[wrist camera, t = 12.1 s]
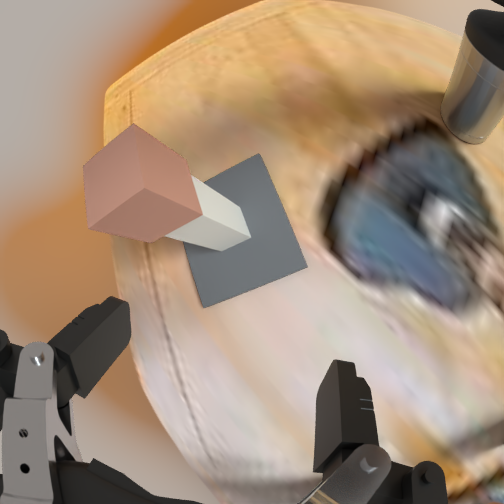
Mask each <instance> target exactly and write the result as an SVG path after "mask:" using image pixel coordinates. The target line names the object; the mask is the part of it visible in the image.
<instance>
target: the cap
mask: <svg viewBox="0 0 504 504" xmlns="http://www.w3.org/2000/svg"><path fill="white" fill-rule="evenodd" d="M83 171H84V190H85V203H86V213H87V223H88V229H90V230H95V231H99V232H104V233H108V234H112V235H117V236H121V237H126V238H130V239H135V240H139V241H144V242H148V243H153V242H154V241H156V240H158V239H160V238H161V237H163V236H165V235H167V234H169V233H170V232H172V231H174V230H176V229H178V228H180V227H181V226H183V225H185V224H187V223H189V222H191V221H193V220H194V219H196V218H198V217H200V216H202V215H203V213H202V210H201V206H200V203H199V200H198V197H197V193H196V190H195V187H194V184H193V180H192V177H191V174H190V170H189V167H188V163H187V160H186V159H184V158H183V157H181V156H180V155H179V154H177V153H176V152H174V151H173V150H171V149H170V148H169V147H167V146H166V145H164V144H163V143H161V142H160V141H159V140H157V139H156V138H154V137H153V136H151V135H150V134H148V133H147V132H145V131H144V130H142V129H141V128H140V127H138V126H137V125H135V124H134V123H133V124H132V125H131V126H129V127H128V128H127V129H126V130H124V131H123V132H122V133H121V134H119V135H118V136H117V137H116V138H114V139H113V140H112V141H111V142H110V143H108V144H107V145H106V146H105V147H104V148H103V149H102V150H100V151H99V152H98V153H97V154H96V155H95V156H93V157H92V158H91V159H90V160H89V161H88V162H87V163H86V164H85V165H84V166H83Z"/></svg>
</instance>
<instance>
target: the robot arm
mask: <svg viewBox="0 0 504 504" xmlns="http://www.w3.org/2000/svg"><path fill="white" fill-rule="evenodd" d="M492 1H493V2H495V3H497V4H499V5H501V6H503V7H504V0H492ZM441 115H442V119H443V121H444V123H445V124H446V126H447V127H448V129H449V130H450V131H451V132H452V133H453V134H454V135H456V136H457V137H458V138H460V139H461V140H463V141H465V142H468V143H472V144H479V143H482V142H484V141H485V140H486V139H487V137H488V136H489V135H490V134H491V132H492V131H493V130H494V128H495V127H496V126H497V124H498V123H499V122H500V120H501V119H502V117H503V116H504V12H497V11H491V10H484V9H477V10H474V11H472V12H471V13H470V14H469V15H468V18H467V22H466V26H465V31H464V35H463V39H462V42H461V46H460V50H459V53H458V57H457V60H456V63H455V66H454V70H453V73H452V76H451V79H450V82H449V85H448V87H447V90H446V93H445V95H444V98H443V101H442V104H441ZM130 338H131V322H130V307H129V304H128V302H126V301H123V300H121V299H118V298H115V297H113V296H110V297H108V298H107V299H106V300H105V301H104V302H103V303H101V304H100V305H99V304H96V305H93V306H91V307H88V308H86V309H85V310H84V311H83V312H82V313H80V314H79V315H78V317H76V318H75V319H73V320H72V322H71V323H69V324H68V325H67V326H66V327H64V328H63V329H62V330H61V331H60V332H59V333H58V334H57V335H55V336H54V337H53V338H52V339H51V340H50V341H49V342H48V343H44V342H33V343H30V344H28V345H26V346H25V347H22V346H18V345H15V344H12V343H10V341H9V339H8V336H7V334H6V333H5V332H4V331H2V330H0V431H1V430H2V470H3V474H0V504H202V503H199V502H195V501H189V500H180V499H172V498H165V497H159V496H154V495H152V494H150V493H149V492H147V491H146V490H145V489H143V488H142V487H140V486H139V485H138V484H136V483H135V482H133V481H132V480H131V479H129V478H128V477H127V476H126V475H124V474H123V473H121V472H119V471H117V470H115V469H113V468H111V467H109V466H107V465H105V464H103V463H101V462H99V461H97V460H96V459H94V458H93V460H92V461H91V463H85V462H83V461H82V457H81V454H80V451H79V448H78V446H77V442H76V436H75V427H74V417H73V402H72V399H71V398H72V396H73V395H74V394H75V393H76V394H78V395H79V396H81V397H83V398H86V396H87V395H88V394H89V393H90V391H91V390H92V388H93V387H94V386H95V385H96V384H97V382H98V381H99V380H100V379H101V377H102V376H103V375H104V373H105V372H106V371H107V370H108V369H109V367H110V366H111V365H112V363H113V362H114V361H115V360H116V358H117V357H118V356H119V355H120V354H121V353H122V351H123V350H124V349H125V348H126V346H127V345H128V343H129V341H130ZM373 409H374V407H373V402H372V395H371V389H370V387H369V386H368V384H367V382H366V381H365V379H364V378H361V377H357V375H356V368H355V364H354V363H353V362H347V361H341V360H336V359H335V360H333V362H332V363H331V365H330V367H329V369H328V371H327V373H326V375H325V377H324V379H323V381H322V383H321V385H320V387H319V390H318V393H317V398H316V426H315V448H314V465H313V472H316V473H323V479H322V481H321V482H320V483H319V484H318V485H317V486H316V487H315V488H314V489H313V490H312V491H311V492H310V493H309V494H308V495H306V496H305V497H304V498H303V499H302V500H301V501H300V502H299V503H297V504H448V499H447V490H446V483H445V476H444V472H443V470H442V469H441V467H440V466H439V465H438V464H436V463H434V462H431V461H423V462H421V463H419V464H418V465H416V466H415V467H414V468H413V467H409V466H406V465H402V464H399V463H395V462H393V461H391V459H390V457H389V455H388V453H387V452H386V451H385V450H384V449H383V448H381V447H380V446H379V441H378V434H377V427H376V420H375V413H374V411H373Z"/></svg>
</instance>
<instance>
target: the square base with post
mask: <svg viewBox="0 0 504 504" xmlns="http://www.w3.org/2000/svg"><path fill="white" fill-rule="evenodd" d="M191 177H192V180H193V184H194V187H195V190H196V193H197V197H198V200H199V203H200V206H201V210H202V213H203V215H202V216H200V217H198V218H196V219H194V220H193V221H191V222H189V223H187V224H185V225H183V226H181V227H180V228H178V229H176V230H174V231H172V232H170V233H169V234H167V235H165V237H169V238H173V239H177V240H180V241H183V243H184V247H185V250H186V254H187V257H188V260H189V264H190V267H191V270H192V274H193V277H194V280H195V283H196V286H197V289H198V293H199V296H200V299H201V302H202V305H203V308H206V307H209V306H212V305H214V304H217V303H220V302H222V301H225V300H227V299H230V298H233V297H235V296H238V295H240V294H243V293H245V292H248V291H250V290H253V289H255V288H258V287H260V286H263V285H265V284H268V283H270V282H273V281H275V280H278V279H280V278H283V277H285V276H288V275H290V274H292V273H295V272H297V271H300V270H302V269H305V268H307V267H308V266H307V264H306V261H305V259H304V256H303V254H302V251H301V249H300V246H299V244H298V241H297V239H296V236H295V234H294V232H293V229H292V227H291V224H290V222H289V219H288V217H287V215H286V212H285V210H284V208H283V205H282V203H281V201H280V198H279V196H278V194H277V191H276V189H275V187H274V184H273V182H272V180H271V178H270V175H269V173H268V171H267V169H266V166H265V164H264V162H263V160H262V157H261V155H260V154H257V155H255V156H253V157H251V158H249V159H247V160H245V161H243V162H241V163H239V164H237V165H235V166H233V167H231V168H229V169H228V170H226V171H224V172H222V173H220V174H218V175H216V176H215V177H213V178H211V179H209V180H207V181H205V182H204V183H203V182H201V181H200V180H198V179H197V178H195V177H194V176H192V175H191Z"/></svg>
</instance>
